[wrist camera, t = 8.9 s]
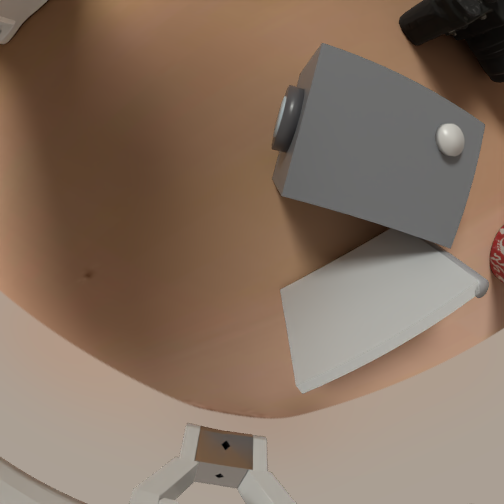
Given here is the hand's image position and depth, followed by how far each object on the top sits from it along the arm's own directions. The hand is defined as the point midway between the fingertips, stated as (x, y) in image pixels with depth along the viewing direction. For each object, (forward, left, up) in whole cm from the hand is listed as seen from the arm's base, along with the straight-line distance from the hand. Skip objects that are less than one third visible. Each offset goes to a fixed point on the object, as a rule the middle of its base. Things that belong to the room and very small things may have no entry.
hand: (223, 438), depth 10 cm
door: (+9, +3, -17) cm, 19 cm away
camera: (+15, +28, -18) cm, 37 cm away
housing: (+7, +12, -17) cm, 22 cm away
